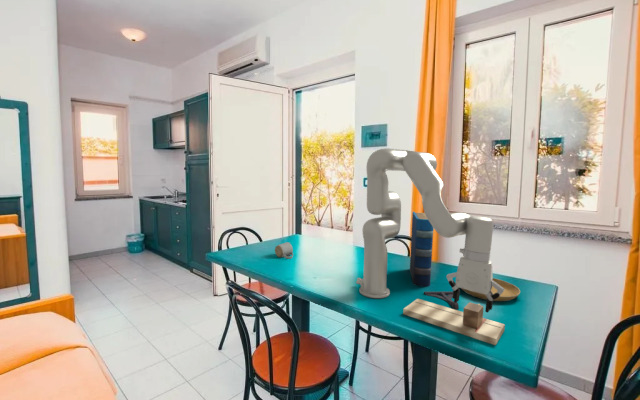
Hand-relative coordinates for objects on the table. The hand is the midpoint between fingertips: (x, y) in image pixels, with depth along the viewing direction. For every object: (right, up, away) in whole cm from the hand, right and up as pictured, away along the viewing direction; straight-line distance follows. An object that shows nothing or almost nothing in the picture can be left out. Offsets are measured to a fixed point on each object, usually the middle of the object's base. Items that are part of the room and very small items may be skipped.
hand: (471, 305), depth 105 cm
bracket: (+1, -6, +23) cm, 24 cm away
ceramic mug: (-70, +2, +81) cm, 107 cm away
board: (-4, -7, +6) cm, 10 cm away
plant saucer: (+22, -5, +33) cm, 40 cm away
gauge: (+1, -5, +1) cm, 6 cm away
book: (-1, -3, +49) cm, 49 cm away
